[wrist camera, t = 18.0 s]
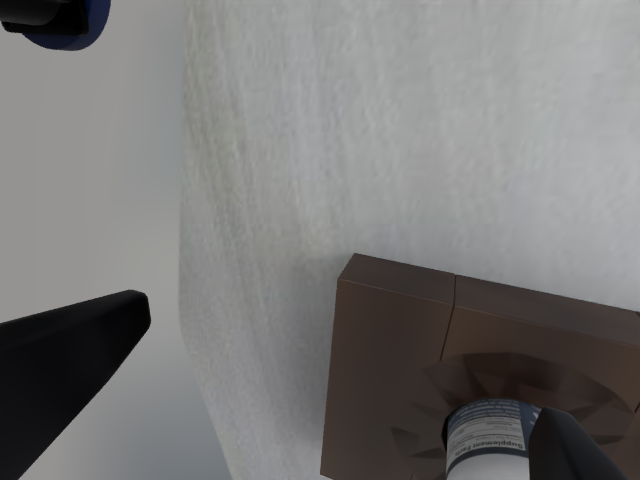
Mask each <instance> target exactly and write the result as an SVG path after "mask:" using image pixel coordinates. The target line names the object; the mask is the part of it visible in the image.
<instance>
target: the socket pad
mask: <svg viewBox="0 0 640 480" xmlns="http://www.w3.org/2000/svg"><path fill="white" fill-rule="evenodd" d="M481 398H511V399H515V400H518V401H522V402H525V403H529V404H532V405H536V406H538V407H540V408H543V407H547V406H548V407H552V408H556V409H559V410H563V411H566V412H568V413H570V414H571V415H572V416H573V417H574V418H575V419H576V420H577V421H578V423H579V424H580V425H581V426H582V427H583V428H584V429H585V430H586V432H587V433H588V434H589V435H590V436H591V437H592V438H593V439H594V441H595V442H596V443H597V444H598V445H599V446H600V447H601V448H602V450H603V451H604V452H605V453H606V454H607V455H608V456H609V458H610V459H611V460H612V461H613V462H614V463H615V464H616V465H617V467H618V468H619V469H620V470H621V471H622V472H623V473H624V474H625V476H626V477H627V478H628V479H629V480H640V312H634V311H630V310H626V309H621V308H616V307H611V306H606V305H601V304H597V303H592V302H587V301H582V300H577V299H572V298H567V297H563V296H558V295H553V294H548V293H543V292H538V291H534V290H529V289H524V288H519V287H514V286H509V285H505V284H500V283H495V282H490V281H485V280H480V279H476V278H471V277H466V276H461V275H456V276H455V274H453V273H448V272H443V271H439V270H434V269H429V268H424V267H419V266H414V265H410V264H405V263H400V262H395V261H390V260H385V259H380V258H376V257H371V256H366V255H361V254H356V253H354V254H353V256H352V257H351V259H350V260H349V262H348V264H347V265H346V267H345V268H344V270H343V271H342V273H341V274H340V276H339V278H338V282H337V293H336V304H335V314H334V325H333V336H332V347H331V358H330V369H329V380H328V391H327V402H326V413H325V424H324V435H323V446H322V457H321V468H320V475H323V476H325V477H328V478H331V479H333V480H446V465H447V438H448V416H449V415H450V414H451V413H452V412H453V411H454V410H455V409H456V408H458V407H459V406H460V405H463V404H466V403H469V402H472V401H475V400H478V399H481Z"/></svg>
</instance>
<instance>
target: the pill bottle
mask: <svg viewBox="0 0 640 480" xmlns="http://www.w3.org/2000/svg"><path fill="white" fill-rule="evenodd" d="M541 410H542V408H540V407H538V406H536V405H532V404H529V403H525V402H522V401H518V400H515V399H511V398H481V399H478V400H475V401H472V402H469V403H466V404H463V405H460V406H459V407H458V408H456V409H455V410H454V411H453V412H452V413H451V414H450V415H449V416H448V438H447V465H446V480H530V479H529V459H528V441H529V436H530V434H531V431H532V429H533V427H534V424H535V422H536V420H537V418H538V415H539V413H540V411H541Z"/></svg>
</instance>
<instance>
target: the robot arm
mask: <svg viewBox="0 0 640 480" xmlns="http://www.w3.org/2000/svg"><path fill="white" fill-rule="evenodd" d="M0 21H1V24H2V26H3V28H4V29H5V30H6V31H7V32H11V33H24V34H46V35H68V36H86V35H87V34H88V32H89V24H88V18H87V12H86V6H85V0H0ZM150 324H151V316H150V309H149V303H148V297H147V296H146V294H144V293H142V292H138V291H135V290H126V291H122V292H118V293H114V294H110V295H107V296H103V297H99V298H95V299H92V300H88V301H84V302H80V303H76V304H72V305H69V306H65V307H61V308H57V309H53V310H49V311H45V312H42V313H38V314H34V315H30V316H26V317H22V318H18V319H15V320H11V321H7V322H3V323H0V480H18V479H19V478H20V477H21V476H22V475H23V474H24V473H25V472H26V470H28V468H29V467H30V466H31V465H32V464H33V463H34V462H35V461H36V460H37V459H38V458H39V456H40V455H41V454H42V453H43V452H44V451H45V450H46V449H47V447H49V445H50V444H51V443H52V442H53V441H54V440H55V439H56V438H57V437H58V436H59V435H60V434H61V432H62V431H63V430H64V429H65V428H66V427H67V426H68V425H69V424H70V423H71V422H72V420H73V419H74V418H75V417H76V416H77V415H78V414H79V413H80V412H81V411H82V409H83V408H84V407H85V406H86V405H87V404H88V403H89V402H90V401H91V400H92V399H93V397H94V396H95V395H96V394H97V393H98V392H99V391H100V390H101V389H102V387H103V386H104V385H105V384H106V383H107V382H108V381H109V380H110V378H111V377H112V376H113V375H114V373H115V372H116V371H117V370H118V368H119V367H120V365H121V364H122V363H123V362H124V360H125V359H126V358H127V356H128V355H129V354H130V353H131V351H132V350H133V349H134V347H135V346H136V345H137V343H138V342H139V341H140V339H141V338H142V337H143V336H144V334H145V333H146V332H147V330H148V329H149V327H150ZM528 459H529V479H530V480H629V479H628V478H627V477H626V476H625V474H624V473H623V472H622V471H621V470H620V469H619V468H618V467H617V465H616V464H615V463H614V462H613V461H612V460H611V459H610V458H609V456H608V455H607V454H606V453H605V452H604V451H603V450H602V448H601V447H600V446H599V445H598V444H597V443H596V442H595V441H594V439H593V438H592V437H591V436H590V435H589V434H588V433H587V432H586V430H585V429H584V428H583V427H582V426H581V425H580V424H579V423H578V421H577V420H576V419H575V418H574V417H573V416H572V415H571V414H570V413H568V412H566V411H563V410H559V409H556V408H552V407H548V406H547V407H543V408H542V410H541V411H540V413H539V415H538V418H537V420H536V422H535V424H534V427H533V429H532V431H531V434H530V436H529V441H528Z"/></svg>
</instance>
